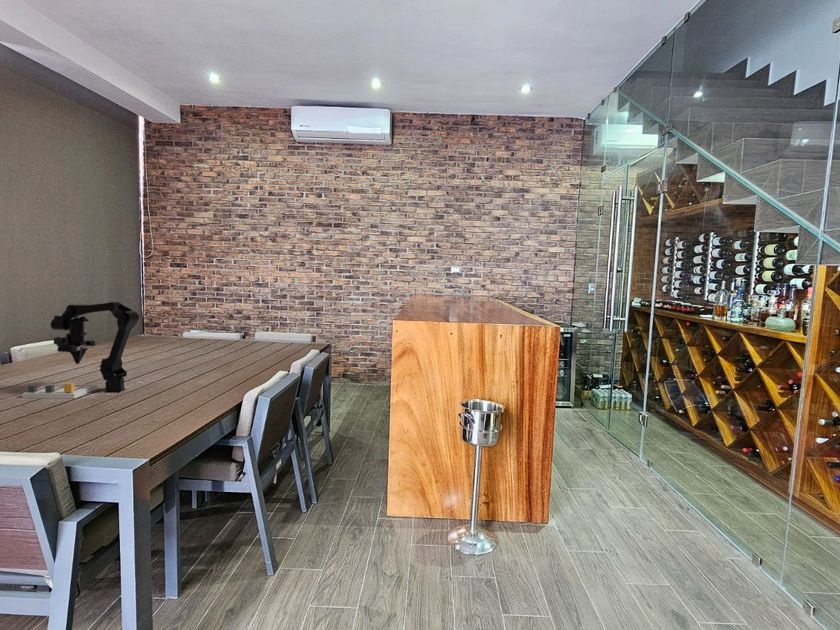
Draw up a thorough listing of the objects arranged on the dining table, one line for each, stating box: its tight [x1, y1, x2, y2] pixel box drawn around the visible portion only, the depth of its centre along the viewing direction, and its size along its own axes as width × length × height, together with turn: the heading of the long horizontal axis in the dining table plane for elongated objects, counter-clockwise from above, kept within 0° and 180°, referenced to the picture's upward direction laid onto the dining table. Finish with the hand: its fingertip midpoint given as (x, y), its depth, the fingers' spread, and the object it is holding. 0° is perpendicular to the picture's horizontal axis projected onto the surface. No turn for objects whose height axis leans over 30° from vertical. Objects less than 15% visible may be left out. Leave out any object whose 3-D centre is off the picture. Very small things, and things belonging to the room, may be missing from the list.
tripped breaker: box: [63, 382, 75, 392], centre depth 203 cm, size 3×2×4 cm, turn 96°
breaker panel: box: [22, 383, 98, 399], centre depth 209 cm, size 21×17×5 cm
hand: (77, 363), depth 216 cm, fingers closed
